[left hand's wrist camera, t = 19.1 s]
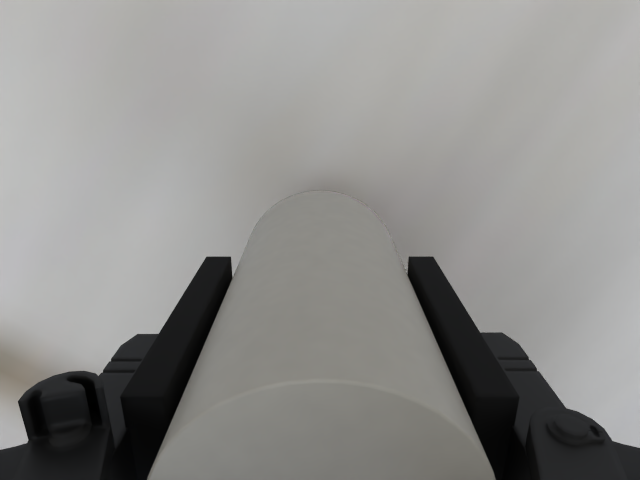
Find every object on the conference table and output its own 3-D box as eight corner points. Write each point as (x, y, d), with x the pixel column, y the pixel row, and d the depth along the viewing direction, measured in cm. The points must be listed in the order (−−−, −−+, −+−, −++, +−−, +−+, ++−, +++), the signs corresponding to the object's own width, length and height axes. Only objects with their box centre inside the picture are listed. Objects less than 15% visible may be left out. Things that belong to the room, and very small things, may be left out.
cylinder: (396, 188, 16) (524, 375, 6) (391, 325, 18) (482, 640, 8) (240, 191, 16) (110, 384, 6) (251, 327, 18) (167, 645, 8)
